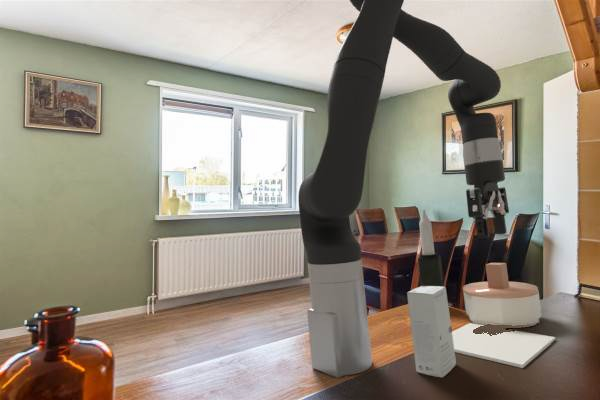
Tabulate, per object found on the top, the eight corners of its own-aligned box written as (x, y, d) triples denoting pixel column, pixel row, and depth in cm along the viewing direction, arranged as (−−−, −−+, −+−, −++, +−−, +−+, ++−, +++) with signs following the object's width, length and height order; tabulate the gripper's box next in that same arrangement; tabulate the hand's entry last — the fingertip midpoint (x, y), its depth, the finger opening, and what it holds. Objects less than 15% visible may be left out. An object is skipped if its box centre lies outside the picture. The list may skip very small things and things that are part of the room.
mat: (522, 368, 52) (522, 364, 52) (430, 346, 63) (429, 343, 63) (555, 340, 61) (555, 337, 61) (469, 325, 73) (469, 323, 73)
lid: (523, 301, 65) (519, 270, 66) (451, 294, 76) (448, 267, 76) (548, 287, 74) (544, 260, 74) (480, 282, 85) (477, 258, 85)
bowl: (525, 333, 65) (521, 300, 66) (458, 321, 76) (454, 293, 76) (548, 316, 74) (544, 288, 74) (485, 308, 84) (481, 283, 84)
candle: (443, 310, 86) (431, 208, 87) (422, 309, 88) (411, 210, 90) (446, 305, 90) (435, 208, 92) (426, 304, 93) (415, 210, 94)
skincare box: (444, 379, 50) (434, 293, 51) (414, 372, 53) (405, 292, 54) (457, 363, 55) (448, 285, 56) (429, 358, 58) (421, 284, 59)
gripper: (485, 157, 70) (496, 238, 68) (514, 159, 78) (524, 232, 77) (449, 164, 75) (459, 239, 74) (480, 166, 84) (489, 233, 83)
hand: (492, 235), depth 76 cm, fingers open, 8 cm apart
